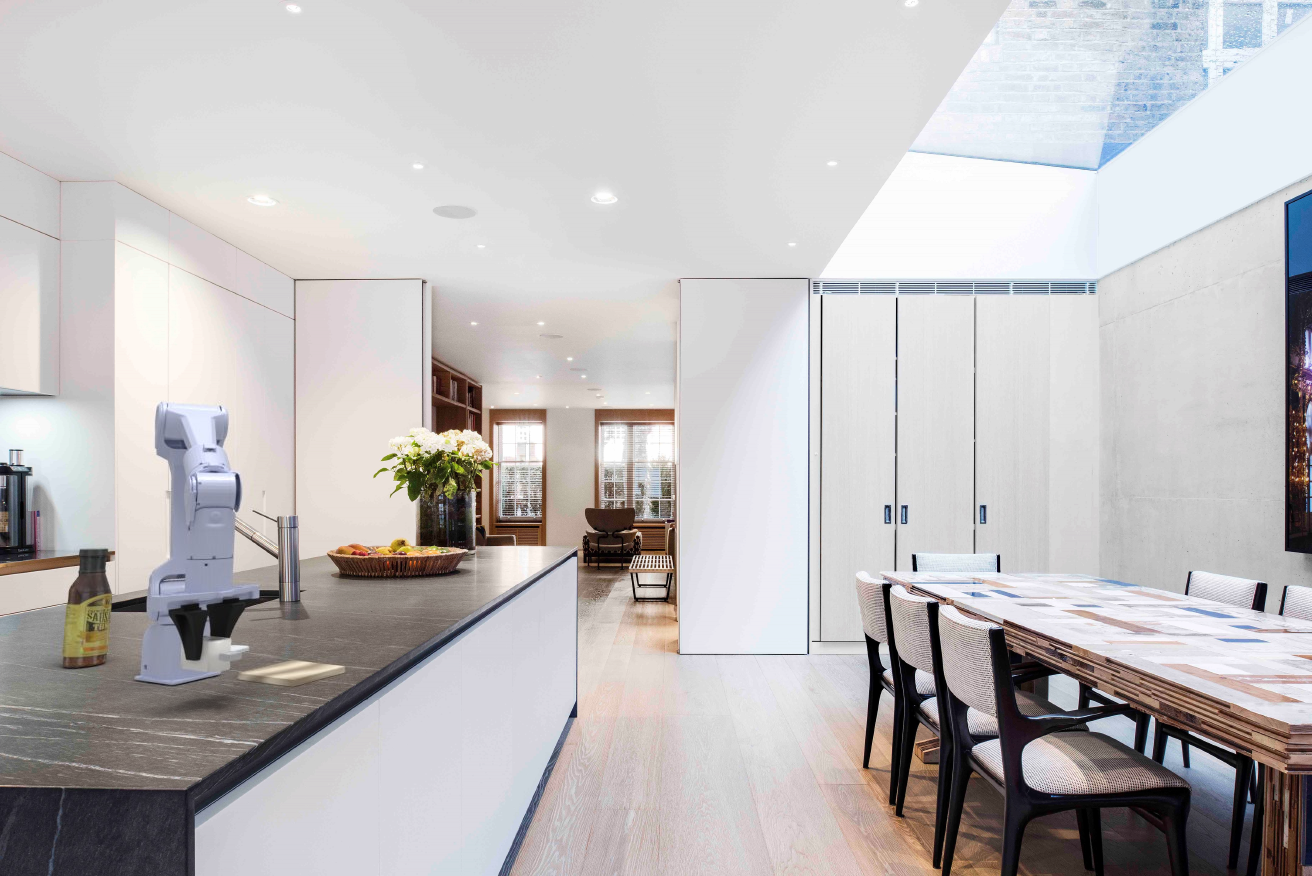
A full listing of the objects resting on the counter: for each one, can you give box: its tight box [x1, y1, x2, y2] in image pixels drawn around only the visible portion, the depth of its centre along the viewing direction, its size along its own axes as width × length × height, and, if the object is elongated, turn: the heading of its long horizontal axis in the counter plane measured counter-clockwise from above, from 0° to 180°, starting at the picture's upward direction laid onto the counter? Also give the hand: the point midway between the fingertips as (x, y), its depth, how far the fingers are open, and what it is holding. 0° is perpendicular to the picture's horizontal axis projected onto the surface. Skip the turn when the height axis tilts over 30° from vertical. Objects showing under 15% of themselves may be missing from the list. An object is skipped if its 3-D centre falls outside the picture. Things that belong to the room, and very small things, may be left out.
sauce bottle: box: [61, 547, 113, 668], centre depth 128 cm, size 6×6×20 cm
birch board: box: [237, 659, 346, 688], centre depth 118 cm, size 12×10×1 cm
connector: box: [180, 635, 243, 672], centre depth 102 cm, size 10×3×4 cm, turn 66°
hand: (205, 657), depth 102 cm, fingers closed on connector, 3 cm apart
